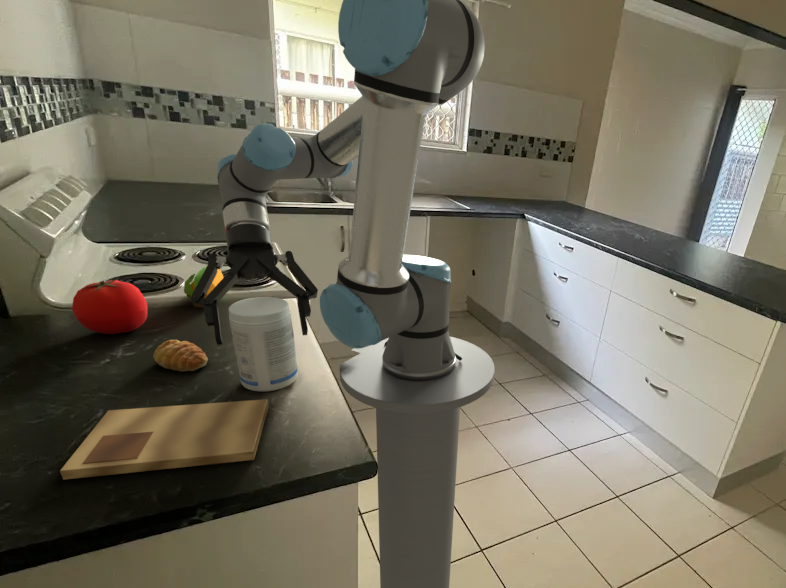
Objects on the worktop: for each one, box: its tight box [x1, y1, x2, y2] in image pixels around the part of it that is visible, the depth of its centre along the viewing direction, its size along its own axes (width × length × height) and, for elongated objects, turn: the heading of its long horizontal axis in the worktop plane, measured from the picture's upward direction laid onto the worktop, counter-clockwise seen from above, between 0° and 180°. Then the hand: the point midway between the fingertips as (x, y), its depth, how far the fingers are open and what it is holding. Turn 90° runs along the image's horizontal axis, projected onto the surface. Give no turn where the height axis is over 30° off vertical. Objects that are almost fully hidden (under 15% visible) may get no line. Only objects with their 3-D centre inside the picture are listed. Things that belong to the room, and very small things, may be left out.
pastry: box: [152, 339, 209, 372], centre depth 88 cm, size 9×7×4 cm
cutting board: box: [59, 398, 270, 481], centre depth 69 cm, size 22×14×2 cm, turn 107°
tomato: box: [71, 275, 149, 335], centre depth 96 cm, size 12×12×11 cm
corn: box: [183, 266, 225, 302], centre depth 119 cm, size 7×8×20 cm
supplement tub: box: [228, 296, 299, 393], centre depth 84 cm, size 10×10×15 cm
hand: (263, 337), depth 83 cm, fingers open, 13 cm apart
